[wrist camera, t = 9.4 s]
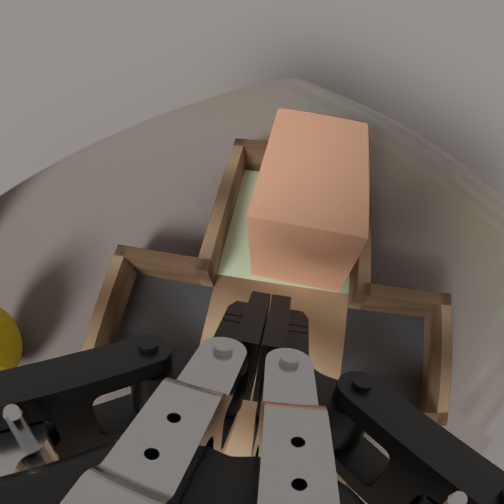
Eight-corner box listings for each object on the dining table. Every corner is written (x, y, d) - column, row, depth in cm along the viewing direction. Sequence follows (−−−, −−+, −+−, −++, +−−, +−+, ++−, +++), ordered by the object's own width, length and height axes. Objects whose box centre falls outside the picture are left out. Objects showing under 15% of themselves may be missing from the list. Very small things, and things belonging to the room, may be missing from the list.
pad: (347, 296, 21) (348, 293, 21) (217, 276, 22) (217, 274, 22) (351, 187, 25) (352, 184, 25) (245, 173, 27) (244, 169, 26)
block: (339, 291, 21) (368, 238, 15) (251, 275, 22) (245, 216, 15) (348, 189, 25) (367, 123, 19) (276, 176, 26) (278, 108, 20)
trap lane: (395, 550, 12) (411, 565, 9) (76, 492, 14) (53, 498, 12) (420, 192, 25) (432, 170, 22) (176, 158, 28) (169, 134, 25)
